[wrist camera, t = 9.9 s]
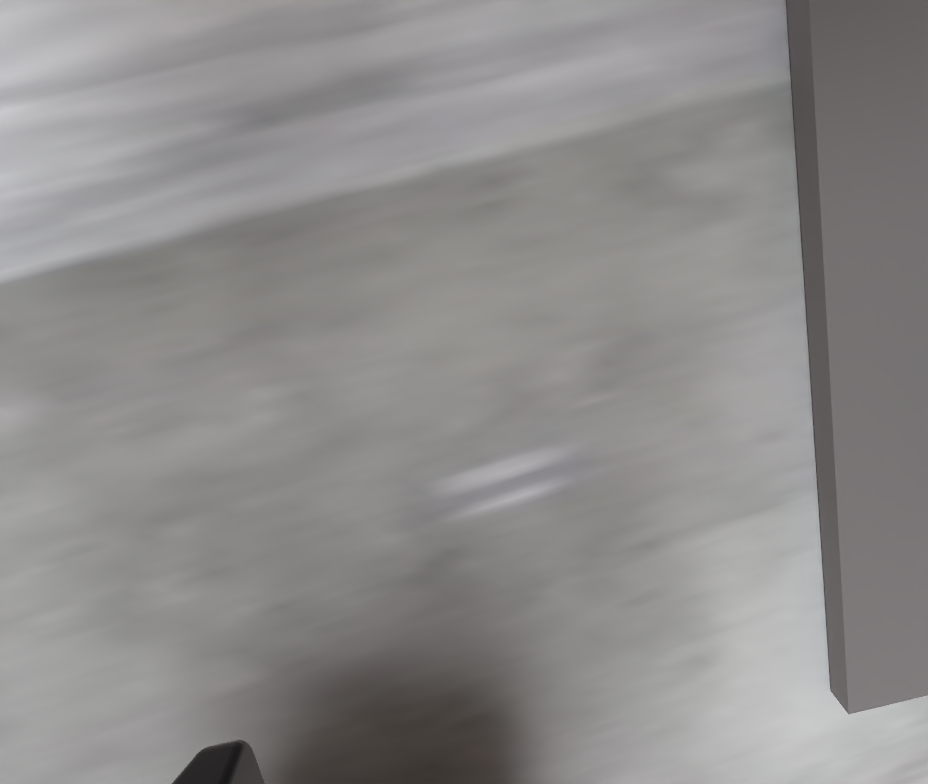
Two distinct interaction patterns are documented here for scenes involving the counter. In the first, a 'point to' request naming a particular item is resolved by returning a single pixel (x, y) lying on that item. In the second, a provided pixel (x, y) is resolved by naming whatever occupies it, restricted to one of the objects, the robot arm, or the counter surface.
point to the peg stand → (867, 329)
